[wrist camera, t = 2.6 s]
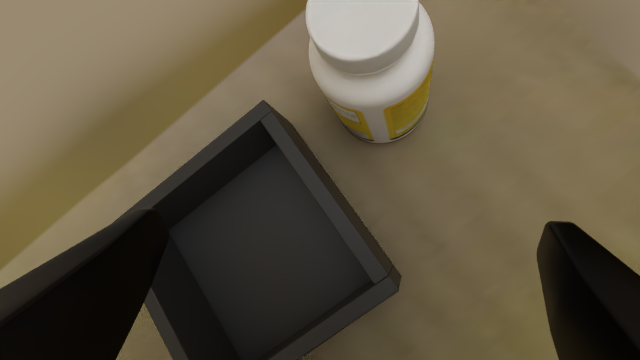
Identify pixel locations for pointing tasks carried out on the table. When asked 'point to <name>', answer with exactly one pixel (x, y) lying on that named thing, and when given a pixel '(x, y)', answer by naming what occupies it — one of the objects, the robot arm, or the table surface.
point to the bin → (260, 249)
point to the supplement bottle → (372, 63)
